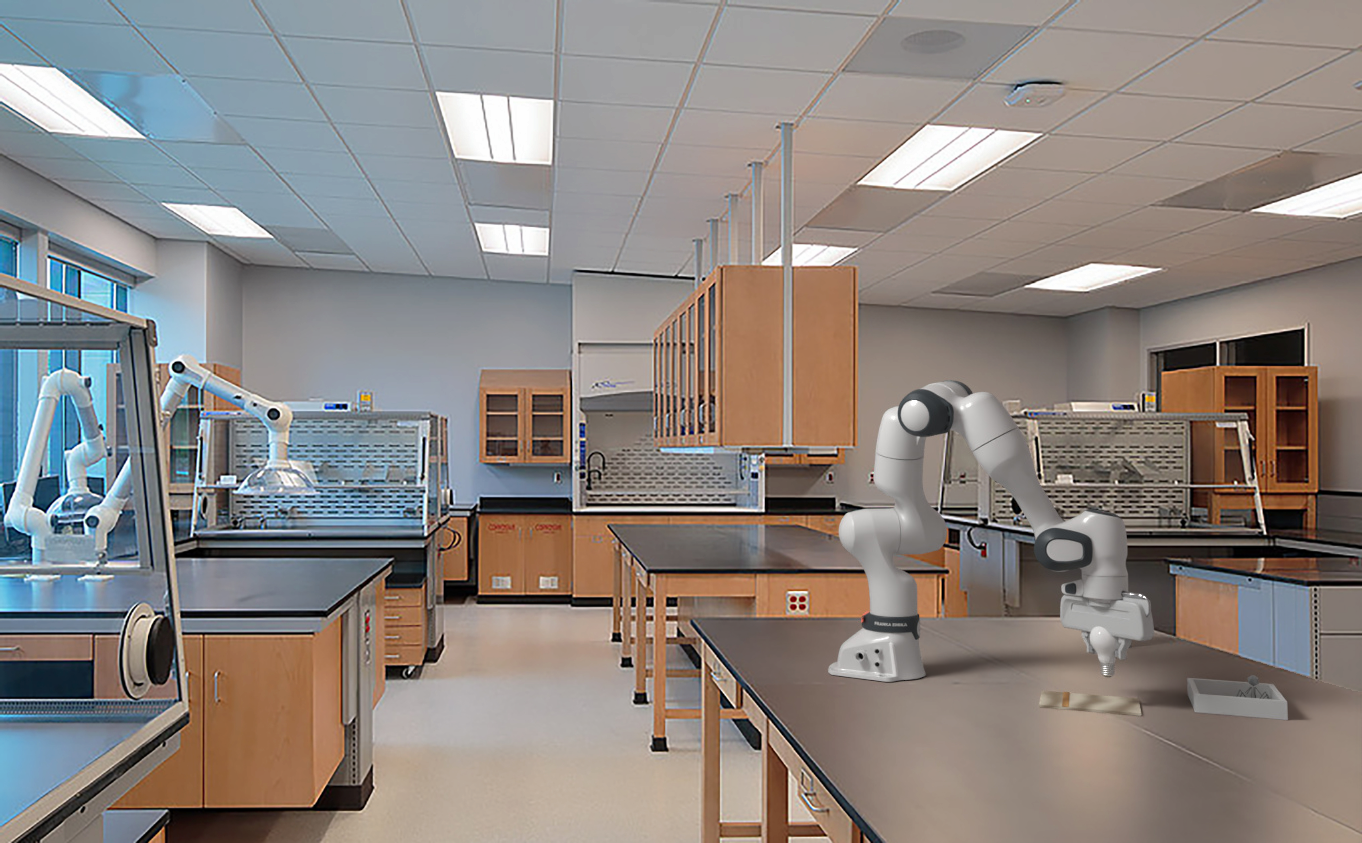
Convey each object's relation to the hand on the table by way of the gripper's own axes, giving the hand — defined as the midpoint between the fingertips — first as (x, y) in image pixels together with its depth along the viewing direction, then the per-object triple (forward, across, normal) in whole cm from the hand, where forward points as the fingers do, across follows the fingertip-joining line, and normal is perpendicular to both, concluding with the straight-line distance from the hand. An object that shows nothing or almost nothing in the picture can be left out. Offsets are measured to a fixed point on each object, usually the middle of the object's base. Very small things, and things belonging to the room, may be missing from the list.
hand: (1106, 656), depth 203 cm
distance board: (+10, +3, +2) cm, 11 cm away
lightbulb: (+4, 0, 0) cm, 4 cm away
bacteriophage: (+10, -15, -25) cm, 31 cm away
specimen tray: (+10, -13, -22) cm, 27 cm away
